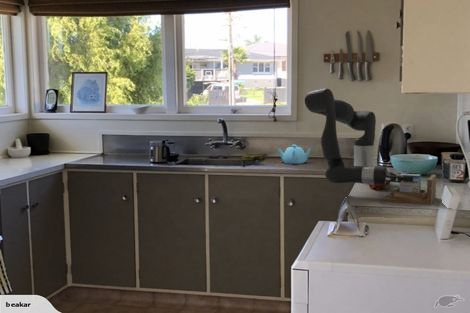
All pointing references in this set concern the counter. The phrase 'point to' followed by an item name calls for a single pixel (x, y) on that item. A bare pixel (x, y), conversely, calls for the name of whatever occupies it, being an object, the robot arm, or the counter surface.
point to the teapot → (294, 155)
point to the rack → (415, 194)
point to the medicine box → (411, 184)
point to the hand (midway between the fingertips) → (414, 177)
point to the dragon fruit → (379, 186)
